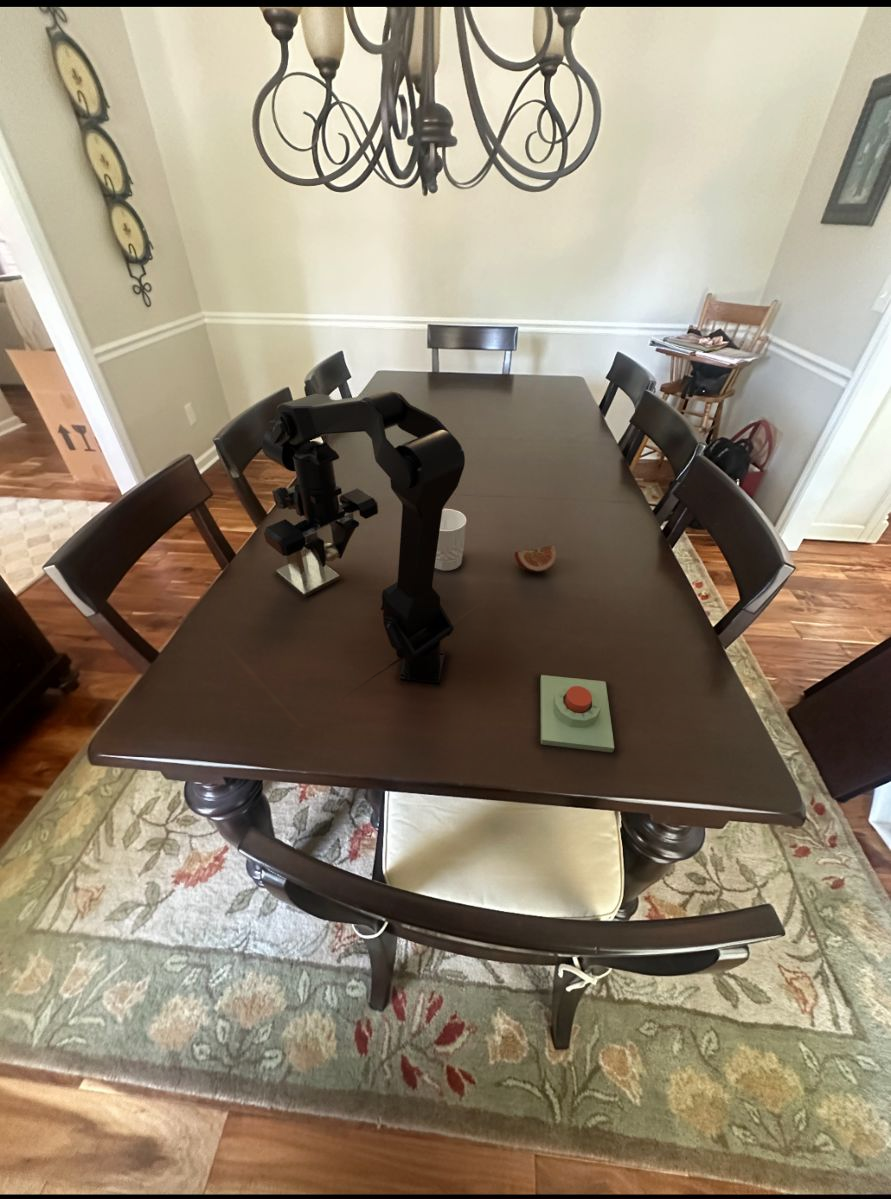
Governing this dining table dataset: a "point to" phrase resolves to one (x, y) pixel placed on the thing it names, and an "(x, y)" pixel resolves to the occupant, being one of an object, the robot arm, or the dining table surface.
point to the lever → (329, 552)
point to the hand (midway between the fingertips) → (330, 561)
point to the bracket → (306, 573)
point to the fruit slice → (536, 558)
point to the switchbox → (575, 715)
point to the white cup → (450, 540)
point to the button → (578, 699)
